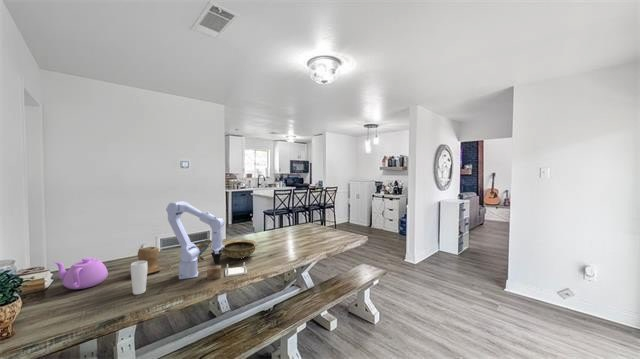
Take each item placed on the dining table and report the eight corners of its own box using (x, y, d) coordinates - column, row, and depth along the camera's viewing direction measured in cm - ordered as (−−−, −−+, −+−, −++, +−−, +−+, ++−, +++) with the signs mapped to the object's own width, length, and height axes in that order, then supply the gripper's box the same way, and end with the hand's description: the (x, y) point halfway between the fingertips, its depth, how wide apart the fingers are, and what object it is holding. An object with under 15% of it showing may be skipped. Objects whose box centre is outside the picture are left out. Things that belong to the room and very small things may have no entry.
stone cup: (157, 266, 155) (157, 243, 155) (163, 272, 147) (163, 247, 147) (127, 274, 144) (127, 248, 143) (132, 280, 136) (132, 253, 135)
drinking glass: (145, 287, 127) (145, 259, 127) (149, 292, 123) (149, 262, 123) (129, 292, 122) (128, 262, 122) (133, 297, 118) (132, 266, 117)
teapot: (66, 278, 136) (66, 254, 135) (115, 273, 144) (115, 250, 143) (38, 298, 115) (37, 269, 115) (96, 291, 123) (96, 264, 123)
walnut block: (207, 280, 138) (207, 269, 138) (207, 276, 142) (207, 266, 142) (220, 278, 140) (220, 268, 140) (220, 275, 145) (220, 265, 144)
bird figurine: (184, 265, 155) (200, 235, 163) (177, 262, 162) (193, 233, 169) (202, 271, 164) (217, 242, 172) (195, 267, 171) (210, 240, 178)
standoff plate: (225, 276, 143) (225, 269, 142) (225, 270, 152) (225, 263, 151) (246, 274, 147) (246, 267, 147) (245, 268, 156) (245, 261, 156)
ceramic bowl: (225, 268, 155) (226, 252, 154) (210, 258, 171) (210, 244, 171) (266, 257, 176) (267, 243, 176) (249, 249, 193) (250, 236, 192)
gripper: (224, 241, 136) (224, 266, 137) (224, 235, 150) (224, 257, 150) (210, 242, 134) (210, 267, 134) (211, 236, 147) (211, 258, 148)
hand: (216, 262), depth 142 cm, fingers open, 7 cm apart
